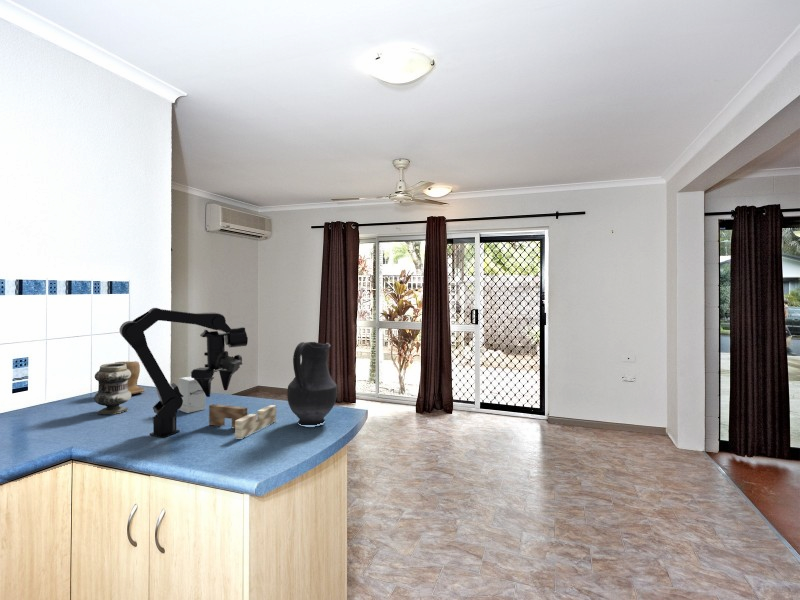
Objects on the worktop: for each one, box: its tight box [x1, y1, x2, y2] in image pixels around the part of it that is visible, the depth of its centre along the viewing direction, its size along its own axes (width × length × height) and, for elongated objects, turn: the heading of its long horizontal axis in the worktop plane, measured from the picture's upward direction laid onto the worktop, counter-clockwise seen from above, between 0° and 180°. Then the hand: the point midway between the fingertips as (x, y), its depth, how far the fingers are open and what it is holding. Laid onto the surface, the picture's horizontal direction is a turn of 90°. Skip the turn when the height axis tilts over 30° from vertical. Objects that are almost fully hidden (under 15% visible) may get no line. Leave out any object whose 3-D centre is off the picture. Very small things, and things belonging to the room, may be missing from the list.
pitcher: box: [286, 341, 338, 425], centre depth 160 cm, size 17×21×30 cm
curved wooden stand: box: [114, 360, 146, 396], centre depth 199 cm, size 15×12×15 cm
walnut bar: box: [208, 403, 248, 429], centre depth 157 cm, size 14×2×7 cm, turn 73°
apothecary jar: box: [93, 362, 132, 415], centre depth 173 cm, size 12×12×18 cm
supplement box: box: [178, 376, 207, 414], centre depth 177 cm, size 7×7×13 cm
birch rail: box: [234, 404, 277, 439], centre depth 154 cm, size 20×2×6 cm, turn 163°
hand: (217, 393), depth 159 cm, fingers open, 9 cm apart
